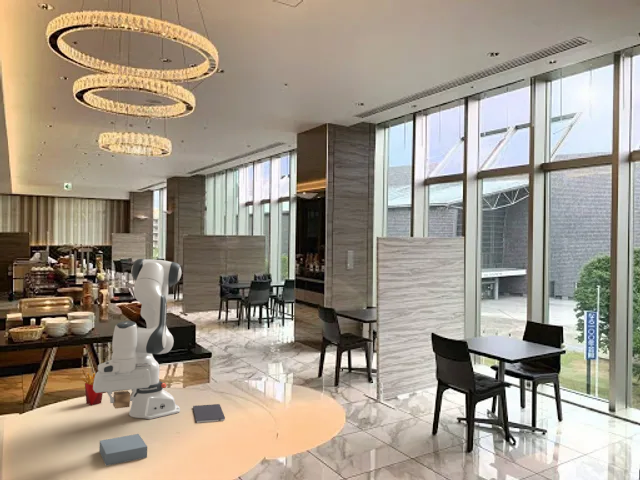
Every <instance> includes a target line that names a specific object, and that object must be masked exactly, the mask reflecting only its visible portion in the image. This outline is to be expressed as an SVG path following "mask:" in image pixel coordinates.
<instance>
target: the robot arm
mask: <svg viewBox="0 0 640 480" xmlns="http://www.w3.org/2000/svg"><path fill="white" fill-rule="evenodd" d="M131 277H132V278H133V280H135V284H134V285H133V296H134V298H135V299H136V301H137V302H139V303H140V304H141V308H140V316H141V318H142V319H143V320H145V323H146V328H145V327H137V323H136V322H135V321H131V320H128V321H127V320H126V321H119V322H117V324H116V325H115V326H114V330H113V335H112V354H111V359H110V360H108V361H105V362H101V363H99V364H98V365H97V370H98V371H97V372H95V378H94V383H93V390H94V391H95V392H96V393H100V392H103V393H106V392H107V395H108V397H109V403H110V404H113V403H115V397H113V396H112V395H113V392H117V391H126V390H128V391H129V390H131V392H130V402H131V404H130V409H129V413H128V416H130V417H131V418H136V419H147V420H152V419H156V418H161V417H166V416H170V415H174V414H179V413H180V412H181V407H180V406H179V405H178V404H176V399H175V397H174V395H172V394H171V393H170V392H168V391H167V390H165V388H166V387H167V383H164V382H163V381H161V380H160V364H159V362H158V361H157V360H156V359H155V357H154V355H162V354H167V353H169V352H170V351H171V350H172V348H173V347H174V342H175V341H174V336H173V335H172V333H171V332H170V330H169V329H168V327H167V318H168V317H167V315H168V314H167V312H168V310H167V308H168V305H167V304H168V299H169V298H168V297H169V288H172V286H174V285H176V284H178V283H179V281H180V279H181V277H182V267H181V265H180V264H179V263H178V262H176V261H175V262H174V261H168V260H164V259H152V258H151V259H149V258H137V259H136V260H135V261H134V262H133V264H132V266H131Z"/></svg>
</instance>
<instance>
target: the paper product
mask: <svg viewBox="0 0 640 480" xmlns="http://www.w3.org/2000/svg"><path fill="white" fill-rule="evenodd" d="M192 409H193V410H192V411H193V414H194V419H195V423H196V424H200V423H213V422H224V421H225V420H226V417H225V415H224V412H223V410H222V406H221V404H220V403H215V404H202V405H193V406H192Z"/></svg>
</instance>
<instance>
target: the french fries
mask: <svg viewBox="0 0 640 480" xmlns="http://www.w3.org/2000/svg"><path fill="white" fill-rule="evenodd" d="M86 374H87V377H86V379H85V378H83V377H81V380H82V381H83V382H84V389H85V402H86V404H87V405H89V406H97V405H100V404H102V400H103V394H104V392H100V393H96V392H95V391H94V390H93V383H94V378H95V375H96V372H94V373H92V375H90V372H87V373H86Z"/></svg>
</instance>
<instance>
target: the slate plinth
mask: <svg viewBox="0 0 640 480" xmlns="http://www.w3.org/2000/svg"><path fill="white" fill-rule="evenodd" d="M98 450H99V451H98V452H99V455H100V456H101V458H102V460H103V463H104V465H105V466H106V467H108V466H112V465H118V464H121V463H127V462H131V461H136V460H141V459H146V458H148V445H147V443H146V442H145V441H144V440H143V438H142V436H141V435H140V433H136V434H130V435H124V436H123V435H122V436H119V437H111V438H108V439H107V438H106V439H101V440H99V449H98Z"/></svg>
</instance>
